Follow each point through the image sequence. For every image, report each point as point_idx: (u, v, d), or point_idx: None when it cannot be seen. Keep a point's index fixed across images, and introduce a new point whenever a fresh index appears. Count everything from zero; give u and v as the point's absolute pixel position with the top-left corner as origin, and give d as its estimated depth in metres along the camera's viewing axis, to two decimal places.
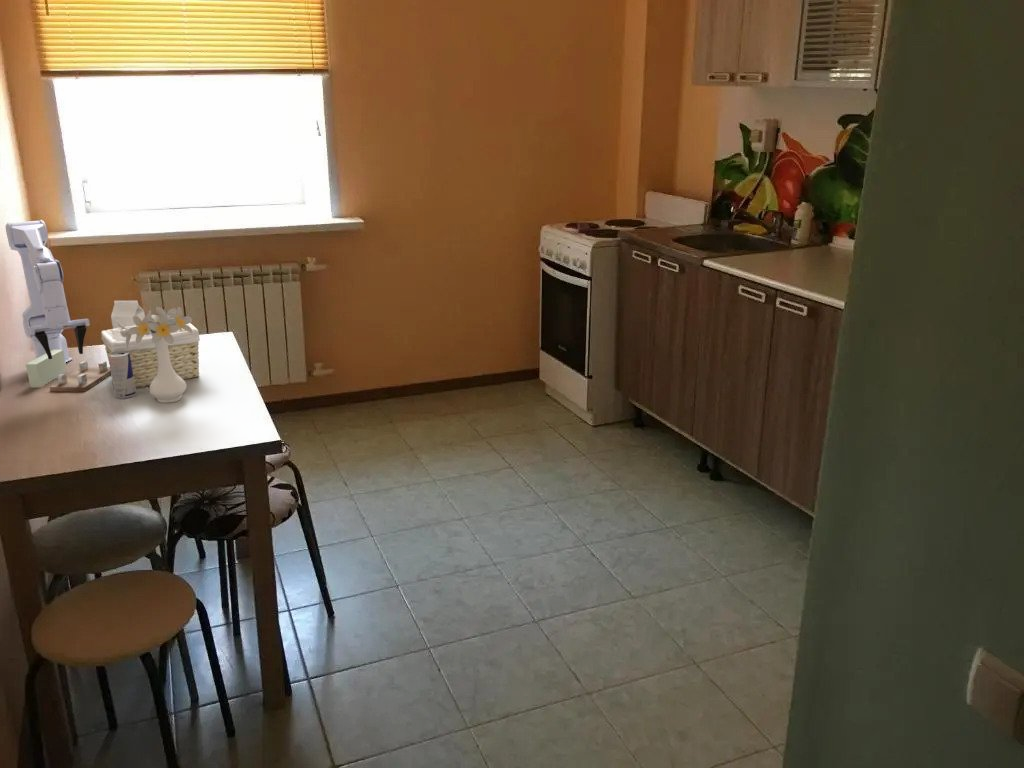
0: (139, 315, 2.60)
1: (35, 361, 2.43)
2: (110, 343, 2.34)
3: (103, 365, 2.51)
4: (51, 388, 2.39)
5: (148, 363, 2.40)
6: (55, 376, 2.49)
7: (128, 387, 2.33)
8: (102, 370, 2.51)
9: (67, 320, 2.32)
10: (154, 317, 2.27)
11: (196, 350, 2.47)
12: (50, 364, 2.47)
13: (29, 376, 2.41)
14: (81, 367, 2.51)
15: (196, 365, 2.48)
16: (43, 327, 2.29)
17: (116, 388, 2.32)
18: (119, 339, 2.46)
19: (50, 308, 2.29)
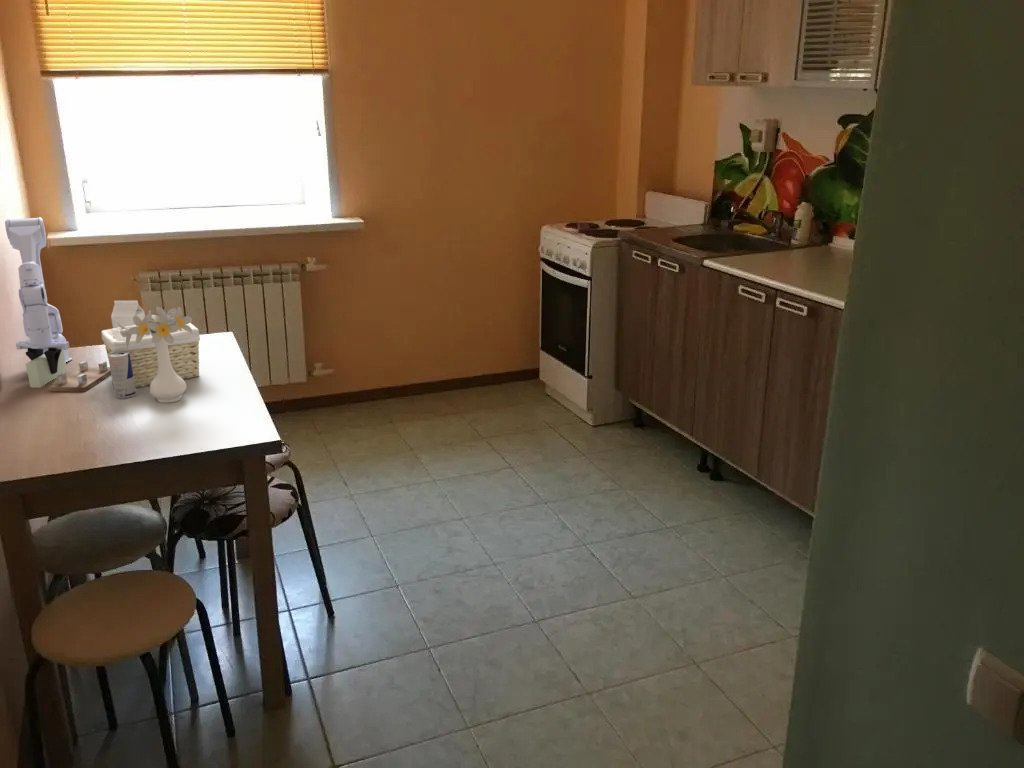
0: (139, 315, 2.60)
1: (35, 361, 2.42)
2: (111, 343, 2.34)
3: (103, 365, 2.51)
4: (51, 388, 2.39)
5: (148, 363, 2.40)
6: (55, 375, 2.49)
7: (128, 387, 2.33)
8: (102, 370, 2.51)
9: (44, 342, 2.43)
10: (154, 317, 2.27)
11: (197, 350, 2.47)
12: None
13: (29, 376, 2.41)
14: (81, 367, 2.51)
15: (196, 365, 2.48)
16: (25, 345, 2.44)
17: (116, 388, 2.32)
18: (119, 339, 2.46)
19: (29, 330, 2.42)
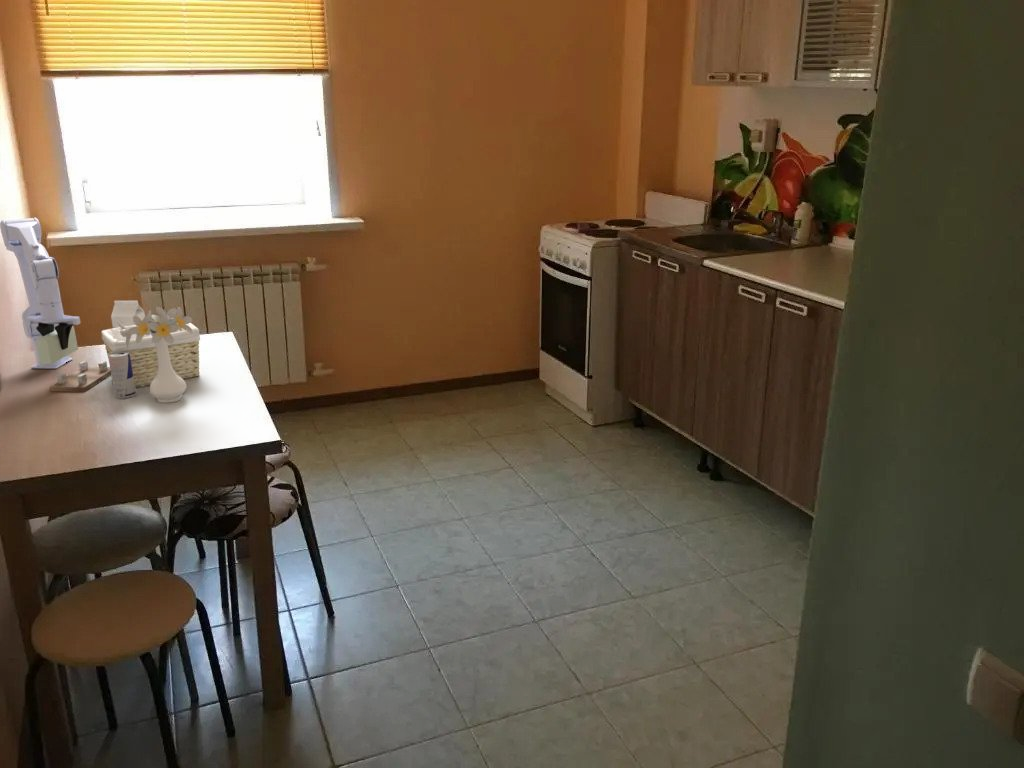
0: (139, 315, 2.60)
1: (45, 337, 2.39)
2: (111, 342, 2.35)
3: (103, 365, 2.51)
4: (51, 388, 2.39)
5: (149, 362, 2.41)
6: (65, 352, 2.46)
7: (128, 387, 2.33)
8: (102, 370, 2.51)
9: (55, 317, 2.40)
10: (154, 317, 2.27)
11: (197, 349, 2.48)
12: None
13: (39, 352, 2.38)
14: (81, 367, 2.51)
15: (196, 364, 2.49)
16: (35, 320, 2.41)
17: (116, 388, 2.32)
18: (119, 339, 2.46)
19: (39, 304, 2.38)
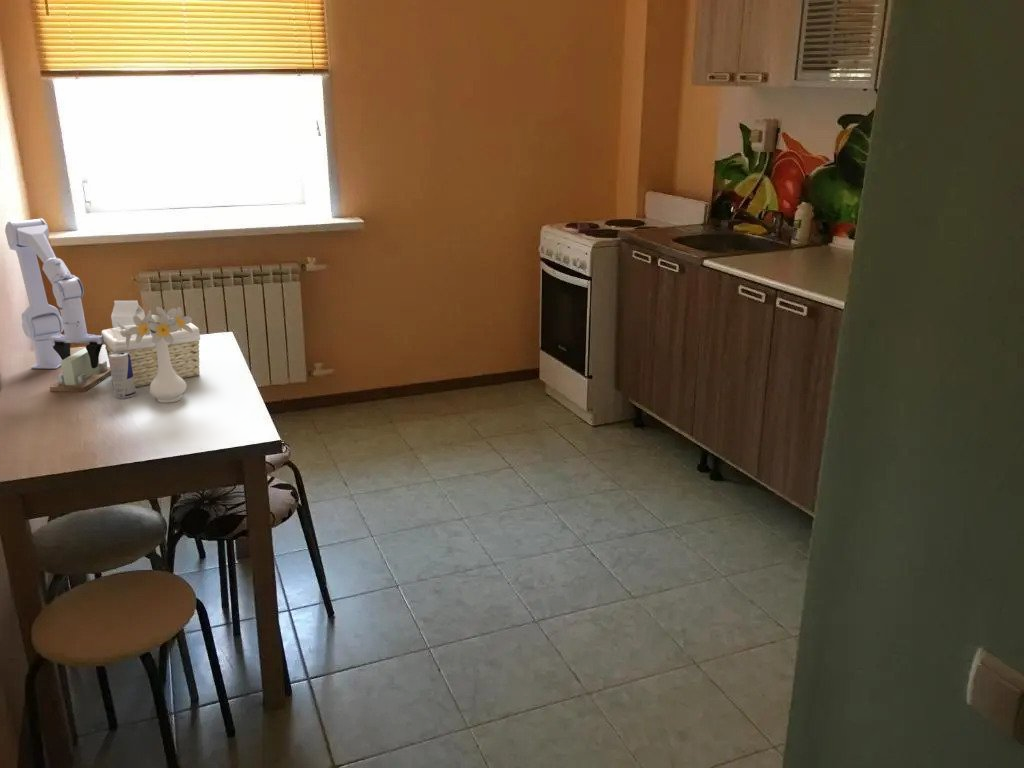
0: (139, 315, 2.60)
1: (70, 358, 2.40)
2: (112, 342, 2.35)
3: (103, 365, 2.51)
4: (51, 388, 2.39)
5: (149, 362, 2.41)
6: (89, 373, 2.47)
7: (128, 387, 2.33)
8: (102, 370, 2.51)
9: (78, 336, 2.41)
10: (154, 317, 2.27)
11: (197, 349, 2.48)
12: (84, 362, 2.45)
13: (64, 373, 2.39)
14: None
15: (197, 363, 2.49)
16: (59, 339, 2.42)
17: (116, 388, 2.32)
18: (119, 338, 2.46)
19: (63, 323, 2.40)
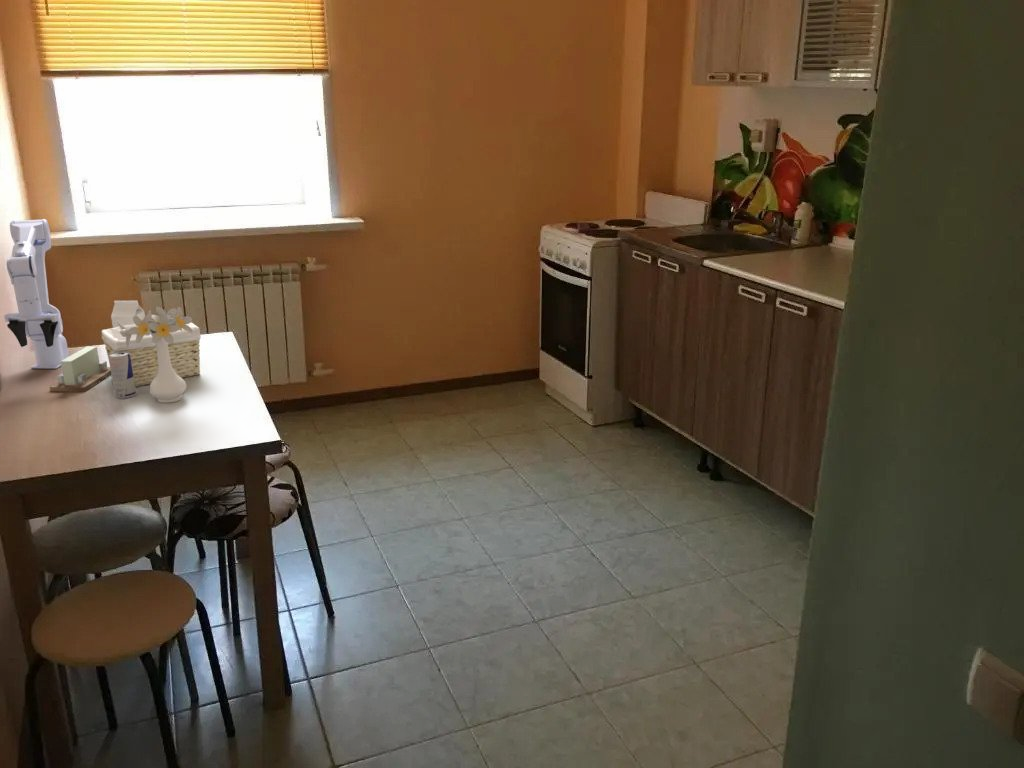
0: (139, 315, 2.60)
1: (70, 358, 2.40)
2: (113, 342, 2.35)
3: (103, 365, 2.51)
4: (51, 388, 2.39)
5: (150, 361, 2.41)
6: (89, 373, 2.47)
7: (128, 387, 2.33)
8: (102, 370, 2.51)
9: (33, 314, 2.39)
10: (154, 317, 2.27)
11: (197, 348, 2.49)
12: (84, 362, 2.45)
13: (64, 373, 2.39)
14: None
15: (197, 363, 2.50)
16: (13, 317, 2.40)
17: (116, 388, 2.32)
18: (119, 338, 2.47)
19: (17, 301, 2.38)
